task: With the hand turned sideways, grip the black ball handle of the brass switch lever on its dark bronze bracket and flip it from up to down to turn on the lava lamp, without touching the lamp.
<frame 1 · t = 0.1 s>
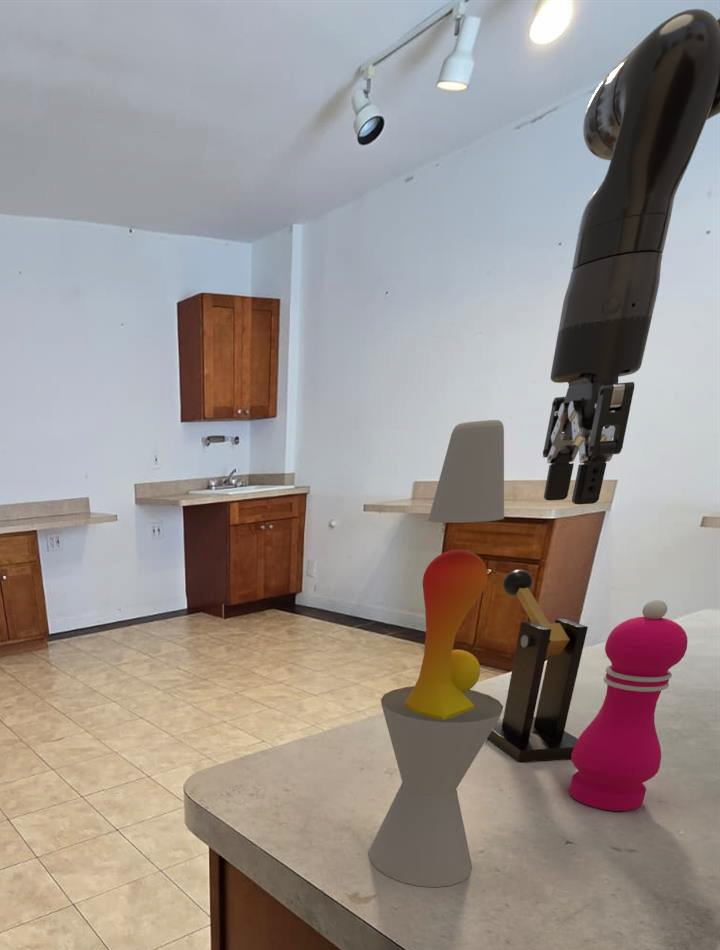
hand: (568, 501, 68), 28 cm above the countertop, tool pointing down, fingers open, 8 cm apart
pepper mill: (603, 798, 66), on the countertop
switch lever: (533, 609, 76), point 16 cm above the countertop, hinge at 30.0°
lava lamp: (418, 860, 58), on the countertop
switch bracket: (529, 743, 78), on the countertop
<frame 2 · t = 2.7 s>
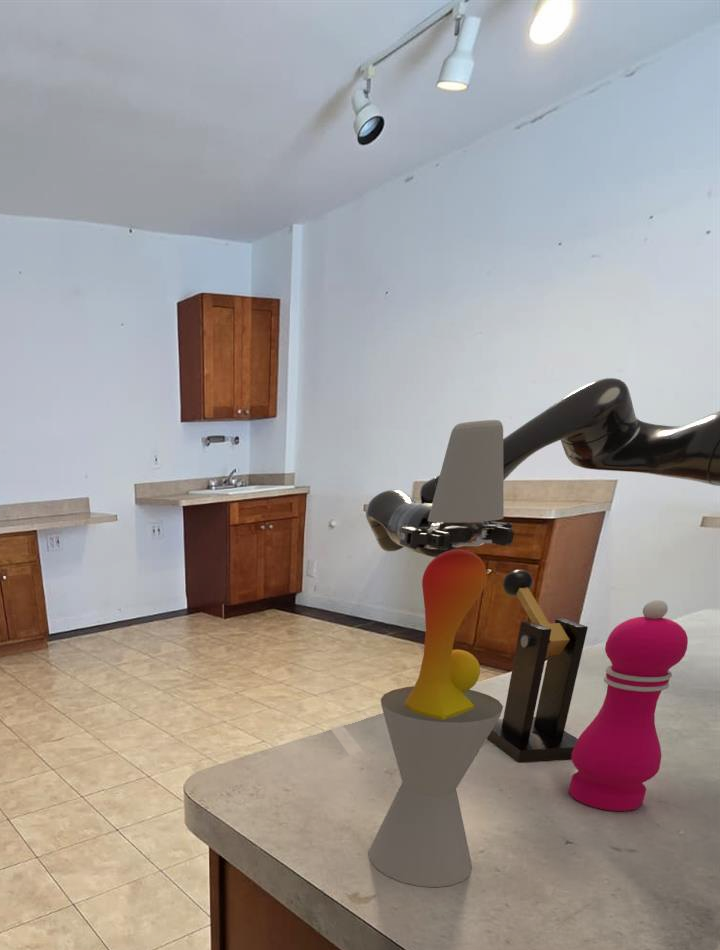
hand: (478, 539, 87), 22 cm above the countertop, tool horizontal, fingers open, 8 cm apart
nothing on the countertop moved.
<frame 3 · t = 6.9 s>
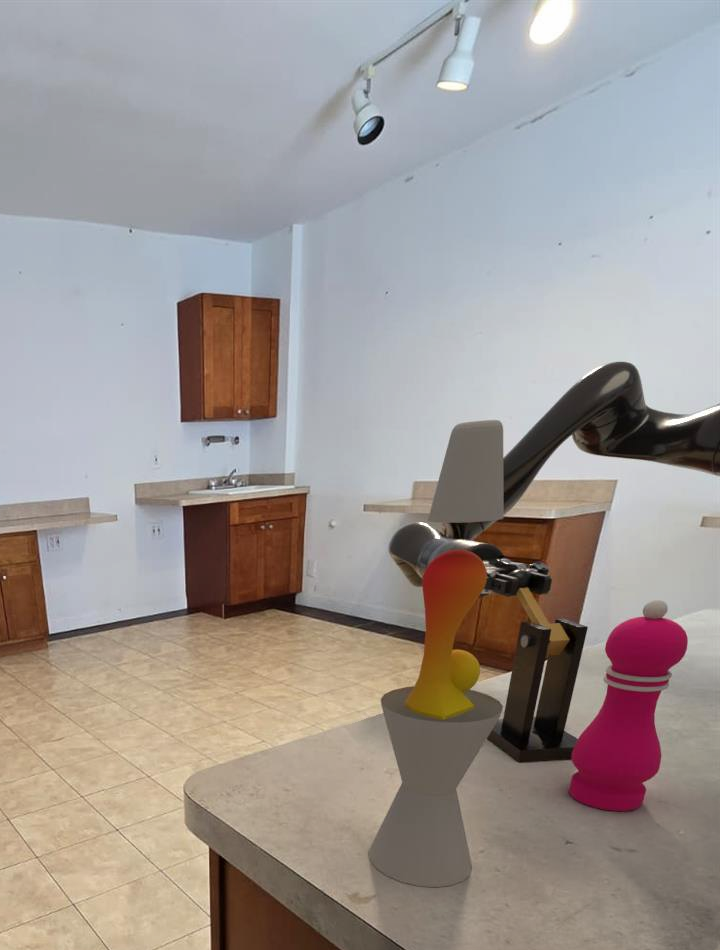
hand: (530, 586, 76), 18 cm above the countertop, tool horizontal, fingers closed on switch lever, 3 cm apart
switch lever: (533, 609, 76), point 16 cm above the countertop, hinge at 30.0°, touching gripper
everything else where it was.
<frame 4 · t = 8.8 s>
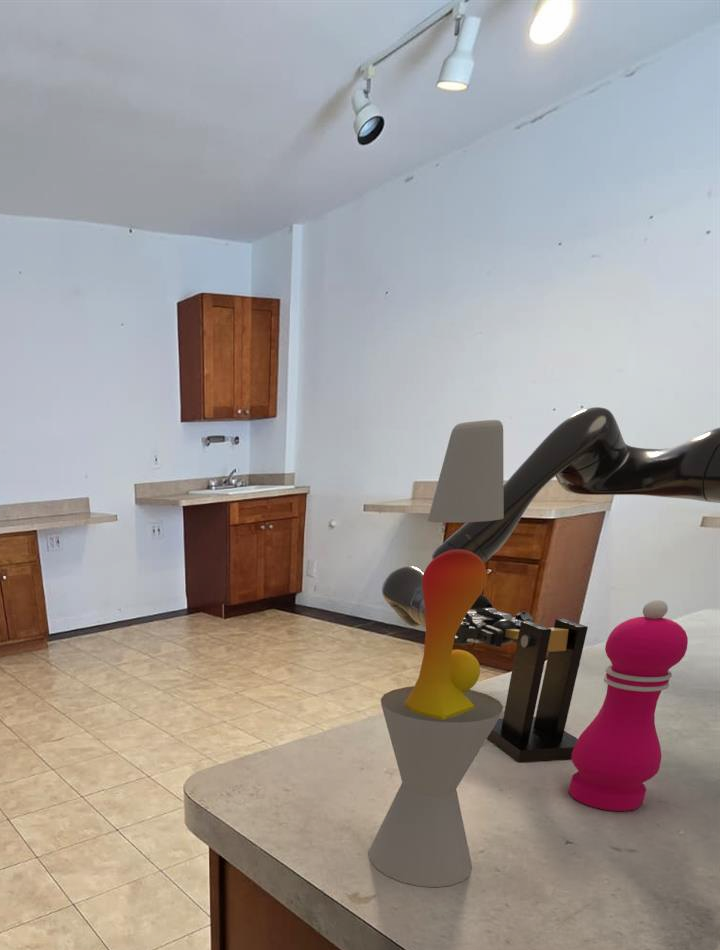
hand: (515, 638, 80), 11 cm above the countertop, tool horizontal, fingers closed on switch lever, 3 cm apart
switch lever: (525, 635, 78), point 12 cm above the countertop, hinge at -7.8°, touching gripper
everything else where it was.
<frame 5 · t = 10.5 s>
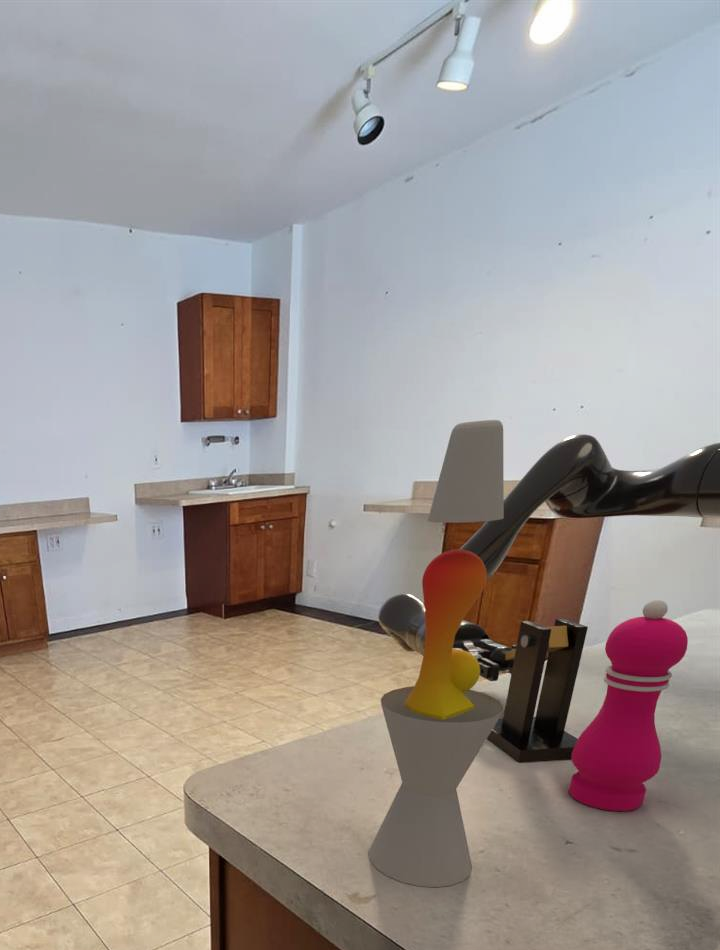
hand: (511, 672, 81), 7 cm above the countertop, tool horizontal, fingers open, 3 cm apart
switch lever: (524, 650, 78), point 11 cm above the countertop, hinge at -27.7°
everything else where it was.
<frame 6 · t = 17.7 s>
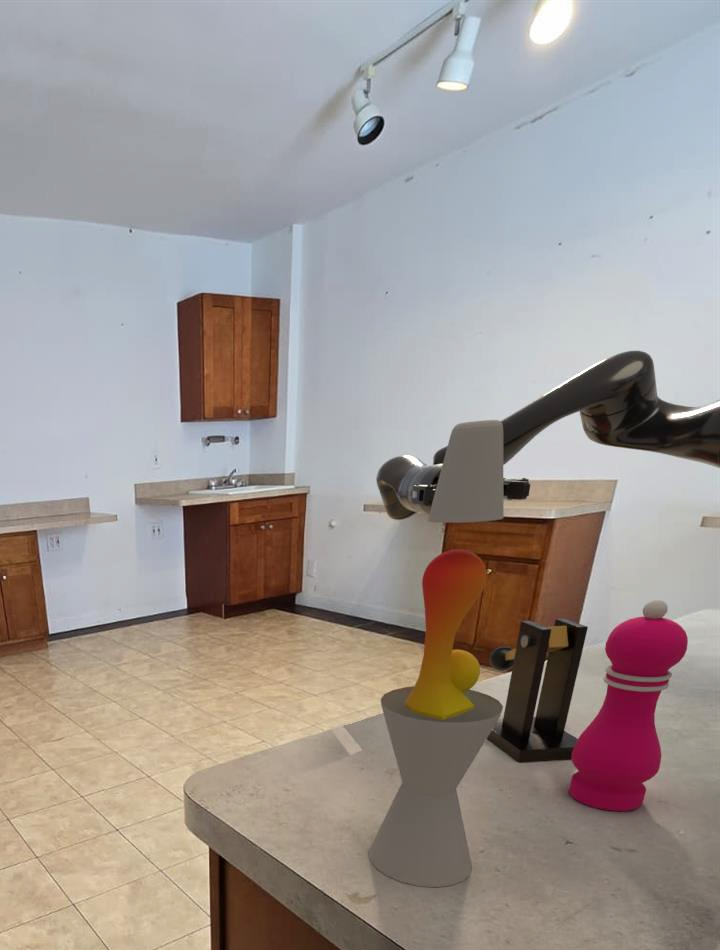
hand: (493, 493, 84), 28 cm above the countertop, tool horizontal, fingers open, 8 cm apart
nothing on the countertop moved.
at the end: switch lever at -28° (first picture: +30°); lava lamp moved 0.2 cm from its start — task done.
